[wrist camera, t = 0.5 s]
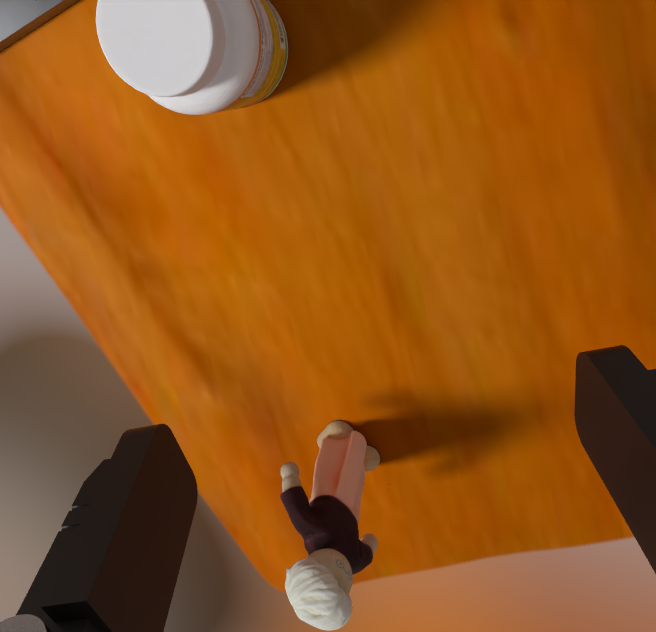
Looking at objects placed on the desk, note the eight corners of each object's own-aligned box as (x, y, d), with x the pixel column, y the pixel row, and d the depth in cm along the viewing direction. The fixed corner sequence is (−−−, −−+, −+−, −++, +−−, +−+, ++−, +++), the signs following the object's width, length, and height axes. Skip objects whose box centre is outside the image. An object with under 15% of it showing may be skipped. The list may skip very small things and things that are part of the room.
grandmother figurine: (406, 455, 34) (412, 643, 23) (370, 488, 36) (359, 680, 24) (313, 391, 33) (270, 555, 22) (280, 428, 35) (223, 600, 23)
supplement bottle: (169, 77, 26) (57, 75, 18) (203, -38, 24) (94, -107, 15) (265, 126, 27) (203, 147, 18) (308, 17, 25) (259, -19, 16)
